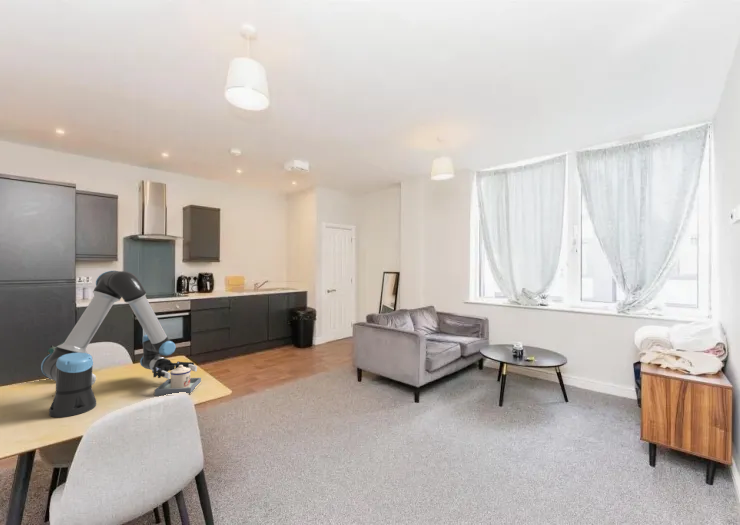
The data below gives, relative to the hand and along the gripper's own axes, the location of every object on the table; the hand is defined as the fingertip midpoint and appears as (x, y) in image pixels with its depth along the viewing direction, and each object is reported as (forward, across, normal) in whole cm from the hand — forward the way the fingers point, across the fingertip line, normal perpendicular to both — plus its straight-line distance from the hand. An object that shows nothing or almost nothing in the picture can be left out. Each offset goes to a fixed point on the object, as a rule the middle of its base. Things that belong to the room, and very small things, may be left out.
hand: (183, 372), depth 165 cm
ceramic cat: (-70, +26, -10) cm, 75 cm away
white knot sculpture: (-40, +29, -10) cm, 51 cm away
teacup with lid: (-3, -1, -9) cm, 9 cm away
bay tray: (-3, 0, -9) cm, 10 cm away
